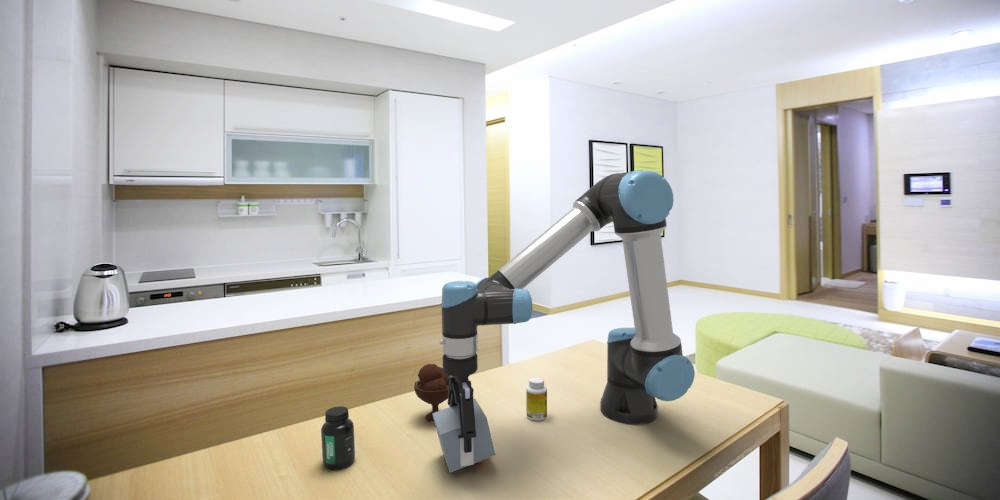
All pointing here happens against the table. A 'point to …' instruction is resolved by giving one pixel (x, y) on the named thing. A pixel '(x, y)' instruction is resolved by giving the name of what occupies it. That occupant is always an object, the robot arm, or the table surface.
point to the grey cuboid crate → (450, 429)
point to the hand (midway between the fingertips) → (461, 451)
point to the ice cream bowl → (432, 387)
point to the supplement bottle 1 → (337, 439)
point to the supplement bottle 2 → (536, 399)
